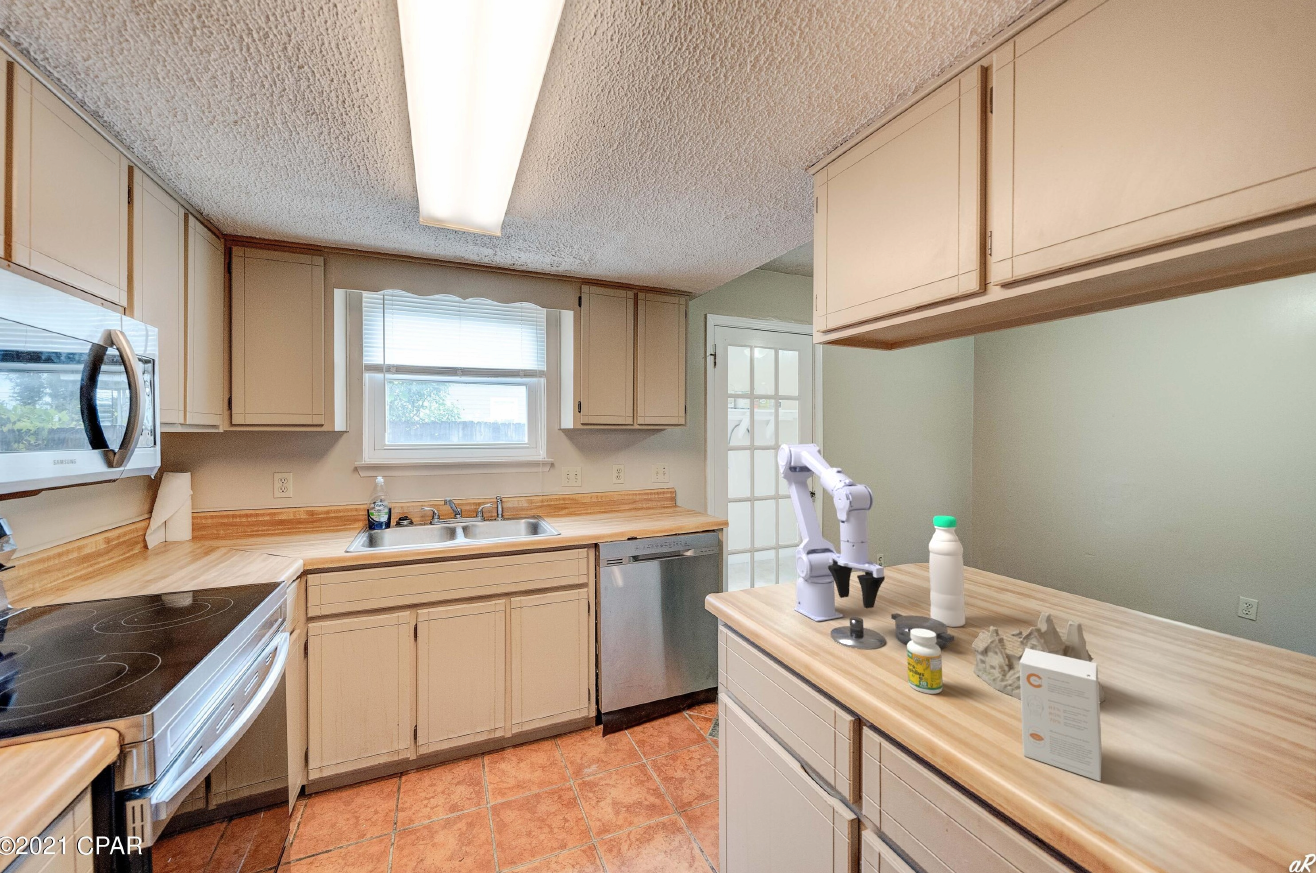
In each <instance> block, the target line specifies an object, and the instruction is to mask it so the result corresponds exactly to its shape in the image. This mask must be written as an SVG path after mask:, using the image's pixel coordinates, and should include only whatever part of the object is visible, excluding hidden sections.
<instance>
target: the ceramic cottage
mask: <svg viewBox="0 0 1316 873" xmlns="http://www.w3.org/2000/svg"><path fill="white" fill-rule="evenodd" d="M971 648H972V650H974V656H975V664H974V668H973V673H974V675H976V676H979V679H981V680H982V681H984V682H985V683H987V685H988V686H990V688H993V689H994V690H997V691H999V692H1002V693H1004V694H1005V695H1008V696H1011V697H1013V698H1014V699H1017V700H1020V701H1021V684H1020V664H1019V662H1020V660H1021V658H1022V656H1023V654H1024V651H1025V649H1026V648H1028V649H1032V650H1037V651H1042V652H1046V653H1051V654H1056V655H1060V656H1065V657H1070V658H1074V659H1079V660H1084V661H1088V662H1092V661H1093V660H1094V659H1095V658H1094V657H1092V655H1091V653H1090V651H1088V649H1087V641H1086V639H1085V636H1084V633H1083V627H1082V624H1081V622H1078V621H1076V620H1069V621H1068V623H1067V626H1066V630H1063V629H1059V628H1056V627H1055V623H1054V620H1053V619H1051V613H1048V612H1044V611H1042V612H1041V613H1040V616H1039V618H1038V621H1037V626H1033V627H1030V628H1028V631H1027V632H1026V633H1025V634H1023V631H1022V630H1021V629H1020V628H1019V629H1017V630H1016V631H1014V632H1011V633H1005V634H1004V635H1000V634H999V629H998V627H995V626H993V625H991V626H990V627H989V631H987V630H985V629H982V630H980V633H978V636H977V637H976V638H975V639H974V641H973V642H972V644H971ZM1098 683H1099V702H1101V703H1103V702H1102V701H1104V700H1105V701H1106V695H1105V692H1104V688H1103V686H1102V684H1101V683H1100V681H1099V680H1098ZM1105 701H1104V702H1105Z"/></svg>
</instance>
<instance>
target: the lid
mask: <svg viewBox="0 0 1316 873" xmlns="http://www.w3.org/2000/svg"><path fill="white" fill-rule="evenodd" d="M829 634H830V639H831V638H832V639H833V640H834V641H833V640H832V639H831V640H832V641H833V642H834V643H836V642H837V643H836V644H838V643H839V644H838V645H840V644H841V645H840V646H842V647H847V648H850V647H851V649H855V648H857V649H856V650H875V649H879V647H880V648H882V647H883V646H884V645H885V642H886V641H885V637H884V635H883V634H881V633H880V632H878V631H876V630H874V629H870V628H867V627H864V619H863V618H862V617H858V616H851V617H849V625H847V626H846V625H844V626H838V627H835V628H833V629H831V631H830V633H829Z"/></svg>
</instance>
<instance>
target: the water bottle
mask: <svg viewBox="0 0 1316 873" xmlns="http://www.w3.org/2000/svg"><path fill="white" fill-rule="evenodd" d="M932 520H933V521H932V522H933V526H934V528H935V532H934V533H933V535H932V538H931V540H930V541H929V543H928V550H929V557H928V558H929V559H928V560H929V562H928V565H929V567H928V569H929V570H928V571H929V584H930V593H929V598H930V618H933V619H936V620H938V621H941V622H943V623H944V624H946V625H947V627H950V628H951V627H952V628H960V627H962V626H964V625H965V624H966V613H965V606H966V605H965V604H966V603H965V602H966V601H965V595H964V588H965V587H964V586H965V573H964V572H965V569H964V559H963V553H964V548H963V544H962V543H961V541H960V540H959V537H958V536H957V534H956V532H955V531H956V529H957V522H958V521H957V518H956V517H954V516H950V515H935V516H934V517H933V519H932Z"/></svg>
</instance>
